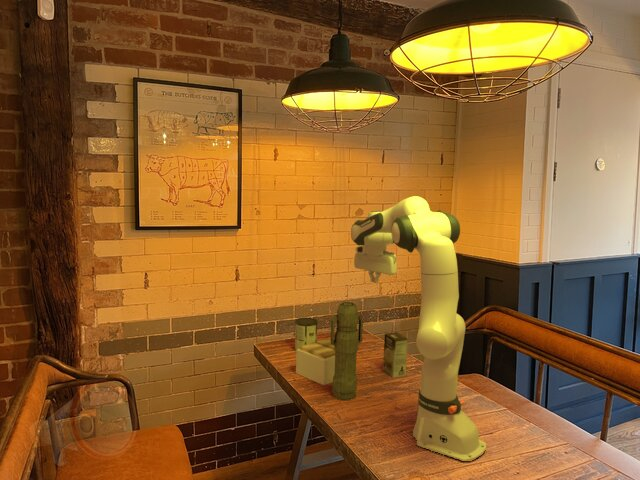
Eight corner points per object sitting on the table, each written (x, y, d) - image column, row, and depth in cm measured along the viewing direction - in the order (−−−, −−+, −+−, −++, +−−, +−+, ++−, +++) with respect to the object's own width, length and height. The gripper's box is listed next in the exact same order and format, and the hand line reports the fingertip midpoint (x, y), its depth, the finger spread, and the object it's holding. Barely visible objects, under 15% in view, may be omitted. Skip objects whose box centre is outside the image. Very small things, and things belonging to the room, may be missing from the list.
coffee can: (302, 344, 236) (303, 316, 234) (320, 349, 230) (321, 319, 229) (290, 350, 227) (290, 321, 225) (308, 355, 222) (309, 325, 220)
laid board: (338, 354, 196) (338, 350, 196) (325, 359, 191) (325, 355, 190) (314, 345, 206) (314, 341, 206) (300, 349, 200) (300, 346, 200)
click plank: (351, 349, 202) (351, 346, 202) (340, 353, 197) (340, 350, 197) (327, 341, 212) (327, 338, 211) (315, 344, 207) (315, 341, 206)
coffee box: (382, 369, 208) (383, 333, 206) (395, 367, 210) (397, 331, 208) (393, 378, 199) (395, 340, 197) (406, 376, 202) (408, 338, 200)
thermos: (364, 397, 181) (368, 305, 176) (335, 402, 176) (338, 308, 172) (353, 388, 189) (356, 299, 184) (325, 392, 184) (328, 301, 180)
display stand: (353, 373, 203) (354, 349, 202) (323, 385, 190) (324, 360, 189) (326, 362, 214) (326, 340, 213) (295, 373, 201) (296, 349, 200)
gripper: (400, 252, 199) (399, 285, 201) (362, 245, 214) (360, 277, 215) (391, 253, 195) (389, 287, 197) (352, 247, 209) (351, 278, 211)
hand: (374, 282), depth 206 cm, fingers closed
